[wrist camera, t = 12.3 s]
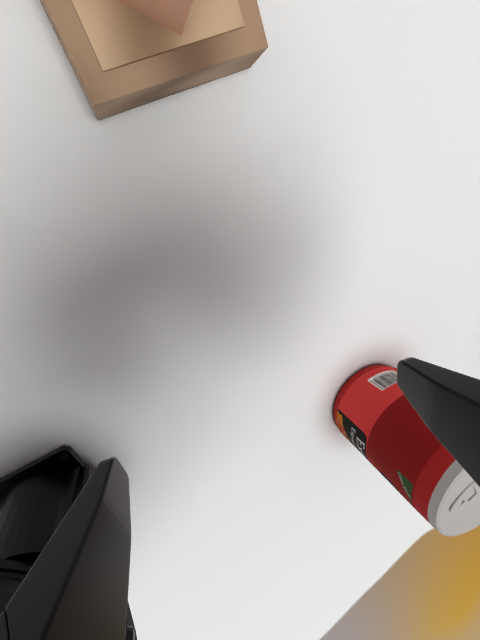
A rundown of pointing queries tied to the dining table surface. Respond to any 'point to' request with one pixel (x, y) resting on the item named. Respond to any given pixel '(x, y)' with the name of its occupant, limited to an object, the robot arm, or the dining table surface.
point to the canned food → (406, 450)
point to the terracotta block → (163, 11)
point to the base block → (153, 48)
